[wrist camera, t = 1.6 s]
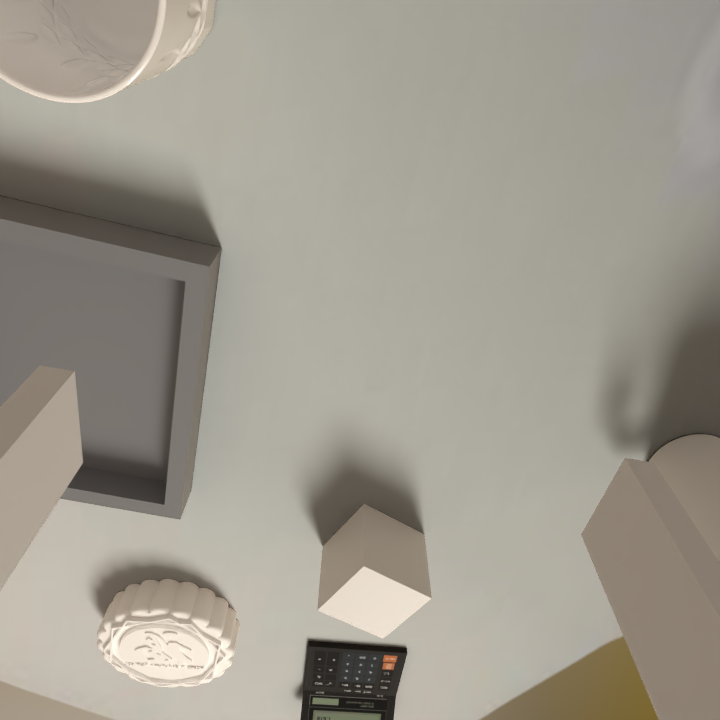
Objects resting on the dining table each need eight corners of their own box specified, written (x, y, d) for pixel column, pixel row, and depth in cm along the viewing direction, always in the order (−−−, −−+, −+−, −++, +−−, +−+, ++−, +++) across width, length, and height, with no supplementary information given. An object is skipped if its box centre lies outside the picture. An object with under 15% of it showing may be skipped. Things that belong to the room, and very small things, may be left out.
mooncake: (238, 580, 49) (230, 617, 46) (242, 659, 55) (235, 697, 52) (99, 572, 48) (82, 609, 45) (118, 653, 55) (104, 690, 52)
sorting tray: (-66, 180, 31) (-105, 194, 29) (221, 247, 33) (209, 266, 30) (-28, 450, 41) (-54, 478, 39) (191, 489, 43) (180, 519, 40)
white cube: (381, 573, 48) (382, 639, 43) (322, 545, 46) (317, 610, 41) (424, 533, 45) (431, 598, 40) (364, 502, 44) (363, 566, 39)
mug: (745, 425, 39) (879, 567, 29) (725, 494, 43) (839, 643, 33) (599, 438, 40) (680, 581, 30) (591, 506, 44) (661, 654, 33)
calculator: (406, 644, 54) (408, 675, 51) (389, 709, 60) (390, 740, 57) (309, 637, 53) (306, 669, 51) (302, 703, 59) (299, 734, 57)
